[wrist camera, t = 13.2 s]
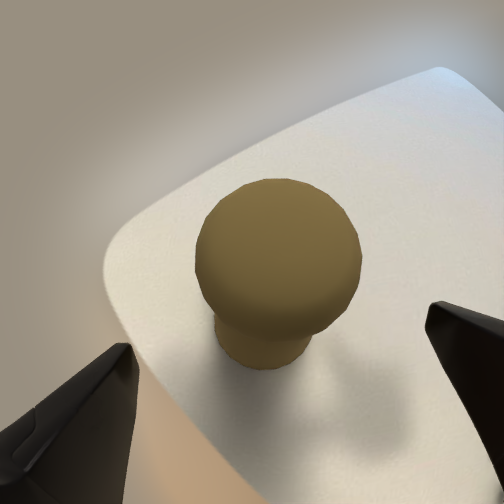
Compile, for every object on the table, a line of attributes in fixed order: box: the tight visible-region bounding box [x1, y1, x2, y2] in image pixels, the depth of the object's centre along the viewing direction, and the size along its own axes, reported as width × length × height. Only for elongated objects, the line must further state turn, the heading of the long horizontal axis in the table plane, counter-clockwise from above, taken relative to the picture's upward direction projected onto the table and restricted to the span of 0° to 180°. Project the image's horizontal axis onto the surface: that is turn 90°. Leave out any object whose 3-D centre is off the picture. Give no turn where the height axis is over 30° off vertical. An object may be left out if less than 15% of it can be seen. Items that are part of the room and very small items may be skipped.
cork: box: [195, 179, 362, 370], centre depth 13 cm, size 6×6×11 cm
